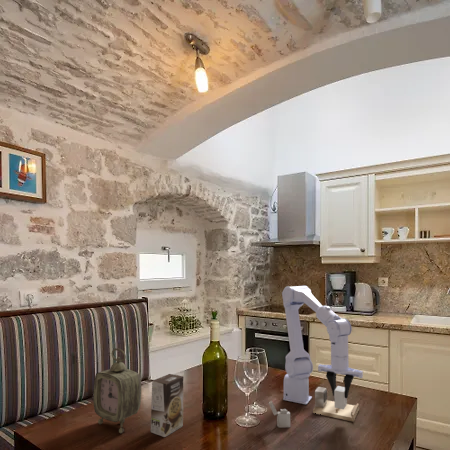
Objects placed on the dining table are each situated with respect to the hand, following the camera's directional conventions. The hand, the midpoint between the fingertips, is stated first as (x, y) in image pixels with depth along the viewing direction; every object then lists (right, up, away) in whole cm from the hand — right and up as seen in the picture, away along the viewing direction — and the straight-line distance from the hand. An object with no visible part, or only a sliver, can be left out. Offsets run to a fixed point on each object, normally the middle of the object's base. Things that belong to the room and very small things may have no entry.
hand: (340, 396), depth 124 cm
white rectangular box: (0, -3, -1) cm, 3 cm away
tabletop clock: (-75, -9, -3) cm, 76 cm away
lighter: (-21, -9, -3) cm, 23 cm away
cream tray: (+1, -10, +8) cm, 13 cm away
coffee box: (-58, -8, -6) cm, 59 cm away
